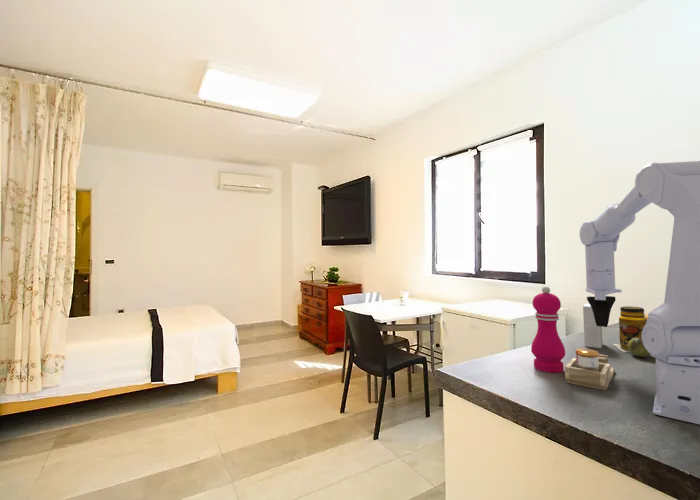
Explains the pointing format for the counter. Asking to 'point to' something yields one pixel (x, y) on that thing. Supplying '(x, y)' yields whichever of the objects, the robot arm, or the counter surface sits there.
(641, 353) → the lime
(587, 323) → the skincare box
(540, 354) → the pepper mill
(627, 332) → the condiment
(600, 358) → the mount
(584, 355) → the small glass jar
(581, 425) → the counter surface
